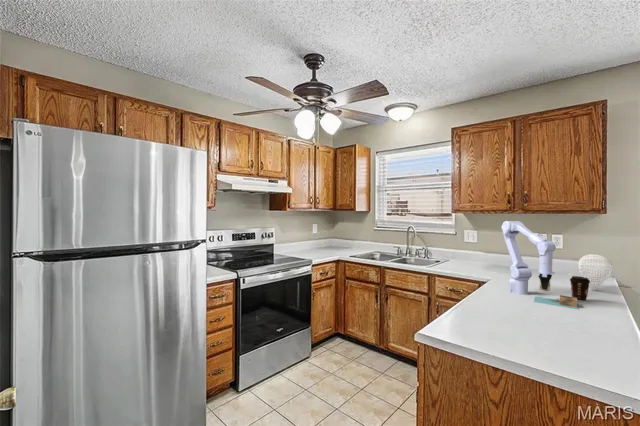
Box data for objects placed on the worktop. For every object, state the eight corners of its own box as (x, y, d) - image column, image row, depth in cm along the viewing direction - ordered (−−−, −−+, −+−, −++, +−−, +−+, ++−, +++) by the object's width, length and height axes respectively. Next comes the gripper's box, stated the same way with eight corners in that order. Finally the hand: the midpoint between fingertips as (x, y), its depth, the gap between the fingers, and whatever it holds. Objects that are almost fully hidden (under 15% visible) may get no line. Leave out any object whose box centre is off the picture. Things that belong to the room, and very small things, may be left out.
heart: (611, 297, 182) (613, 259, 182) (577, 292, 192) (578, 256, 192) (608, 288, 204) (609, 254, 203) (577, 284, 214) (578, 252, 213)
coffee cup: (584, 299, 176) (585, 276, 176) (593, 303, 168) (593, 279, 168) (566, 297, 179) (567, 275, 179) (573, 301, 171) (574, 278, 171)
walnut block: (559, 304, 162) (559, 297, 162) (559, 301, 168) (559, 295, 168) (576, 307, 158) (577, 300, 158) (576, 304, 163) (576, 297, 163)
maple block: (539, 289, 169) (539, 281, 168) (540, 288, 172) (540, 280, 172) (549, 291, 166) (550, 283, 166) (550, 289, 169) (550, 281, 169)
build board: (533, 303, 166) (533, 301, 166) (535, 297, 177) (535, 296, 177) (579, 311, 154) (579, 309, 154) (578, 304, 165) (578, 303, 165)
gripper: (554, 266, 161) (553, 292, 161) (555, 262, 172) (554, 287, 172) (537, 264, 165) (536, 289, 165) (539, 261, 176) (538, 284, 177)
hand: (544, 288), depth 169 cm, fingers closed on maple block, 4 cm apart
